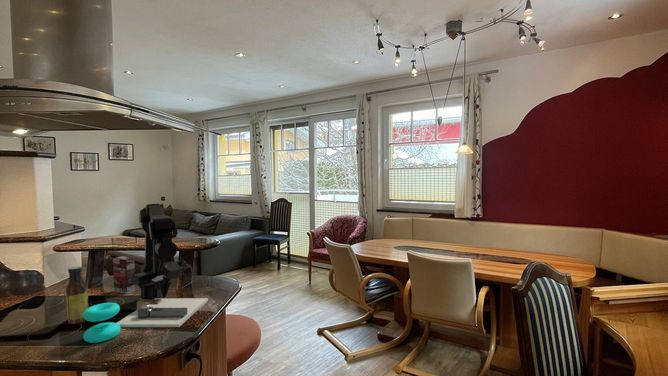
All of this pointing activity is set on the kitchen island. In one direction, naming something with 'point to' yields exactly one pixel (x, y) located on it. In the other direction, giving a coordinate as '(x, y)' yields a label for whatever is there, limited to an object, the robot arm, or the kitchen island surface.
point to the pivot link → (160, 312)
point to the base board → (188, 303)
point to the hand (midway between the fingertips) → (163, 297)
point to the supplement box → (123, 274)
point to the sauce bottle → (76, 296)
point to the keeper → (147, 302)
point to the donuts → (103, 329)
